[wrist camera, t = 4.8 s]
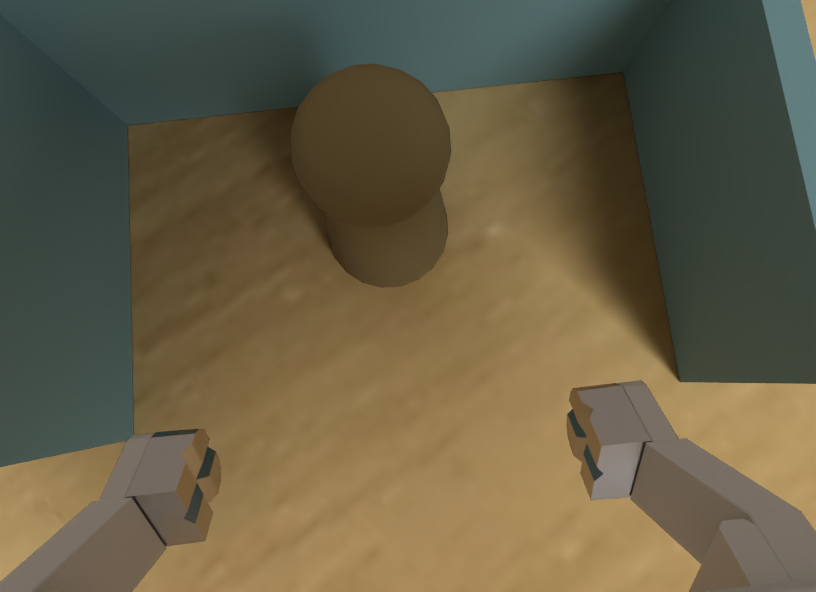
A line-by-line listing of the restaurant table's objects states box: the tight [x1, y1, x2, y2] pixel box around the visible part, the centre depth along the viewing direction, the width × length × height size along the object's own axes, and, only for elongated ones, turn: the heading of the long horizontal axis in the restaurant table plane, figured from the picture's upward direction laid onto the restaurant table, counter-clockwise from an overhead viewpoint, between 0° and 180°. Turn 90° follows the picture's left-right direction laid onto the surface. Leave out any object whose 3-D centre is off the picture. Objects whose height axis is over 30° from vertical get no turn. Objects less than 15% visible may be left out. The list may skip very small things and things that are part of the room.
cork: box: [291, 64, 451, 287], centre depth 21 cm, size 6×6×11 cm
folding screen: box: [0, 0, 816, 467], centre depth 21 cm, size 17×28×10 cm, turn 96°
